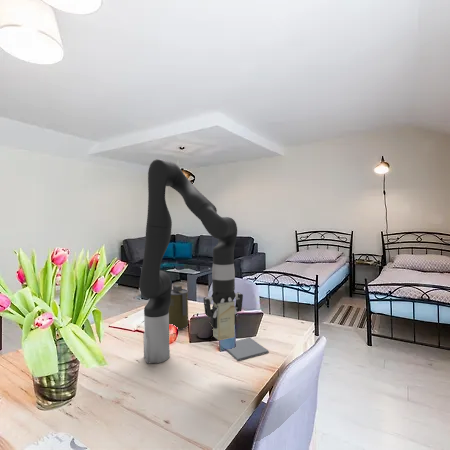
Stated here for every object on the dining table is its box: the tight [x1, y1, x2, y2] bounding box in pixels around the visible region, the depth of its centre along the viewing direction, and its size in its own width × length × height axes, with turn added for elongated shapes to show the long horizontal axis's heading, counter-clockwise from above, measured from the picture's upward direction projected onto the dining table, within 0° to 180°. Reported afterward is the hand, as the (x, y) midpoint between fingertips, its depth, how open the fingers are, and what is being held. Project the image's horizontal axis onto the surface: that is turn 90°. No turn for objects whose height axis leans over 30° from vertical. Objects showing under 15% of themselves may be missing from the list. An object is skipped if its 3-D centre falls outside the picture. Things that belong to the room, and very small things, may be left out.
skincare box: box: [212, 300, 236, 341], centre depth 98 cm, size 6×4×12 cm
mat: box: [226, 337, 270, 362], centre depth 118 cm, size 14×14×1 cm
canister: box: [169, 284, 189, 330], centre depth 143 cm, size 11×10×20 cm
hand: (223, 325), depth 98 cm, fingers closed on skincare box, 6 cm apart
